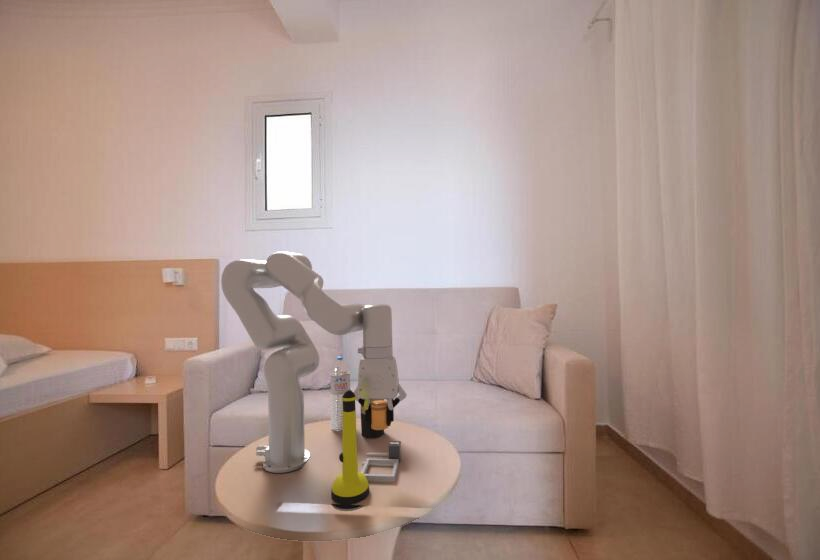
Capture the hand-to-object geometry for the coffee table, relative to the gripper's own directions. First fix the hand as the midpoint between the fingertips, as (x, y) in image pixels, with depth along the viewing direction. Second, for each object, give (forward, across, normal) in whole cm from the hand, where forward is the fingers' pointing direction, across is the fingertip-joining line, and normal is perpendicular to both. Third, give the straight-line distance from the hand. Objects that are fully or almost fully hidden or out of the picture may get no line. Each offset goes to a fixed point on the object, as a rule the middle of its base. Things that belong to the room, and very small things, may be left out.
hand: (379, 423), depth 91 cm
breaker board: (+14, -3, +3) cm, 14 cm away
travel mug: (+14, -7, +23) cm, 28 cm away
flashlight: (+14, -6, -9) cm, 18 cm away
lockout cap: (+1, 0, 0) cm, 1 cm away
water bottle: (+14, -19, +28) cm, 37 cm away
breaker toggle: (+12, +3, +6) cm, 14 cm away
